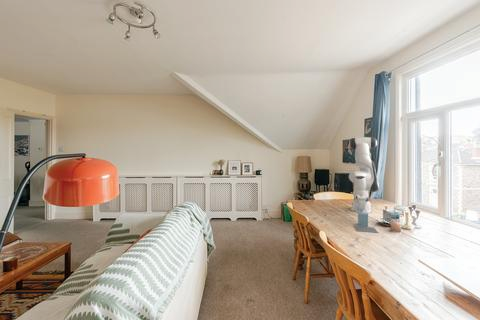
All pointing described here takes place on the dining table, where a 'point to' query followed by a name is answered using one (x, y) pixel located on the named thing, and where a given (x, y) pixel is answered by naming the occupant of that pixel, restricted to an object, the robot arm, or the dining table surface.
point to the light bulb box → (391, 215)
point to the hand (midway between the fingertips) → (359, 212)
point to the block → (363, 219)
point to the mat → (365, 229)
